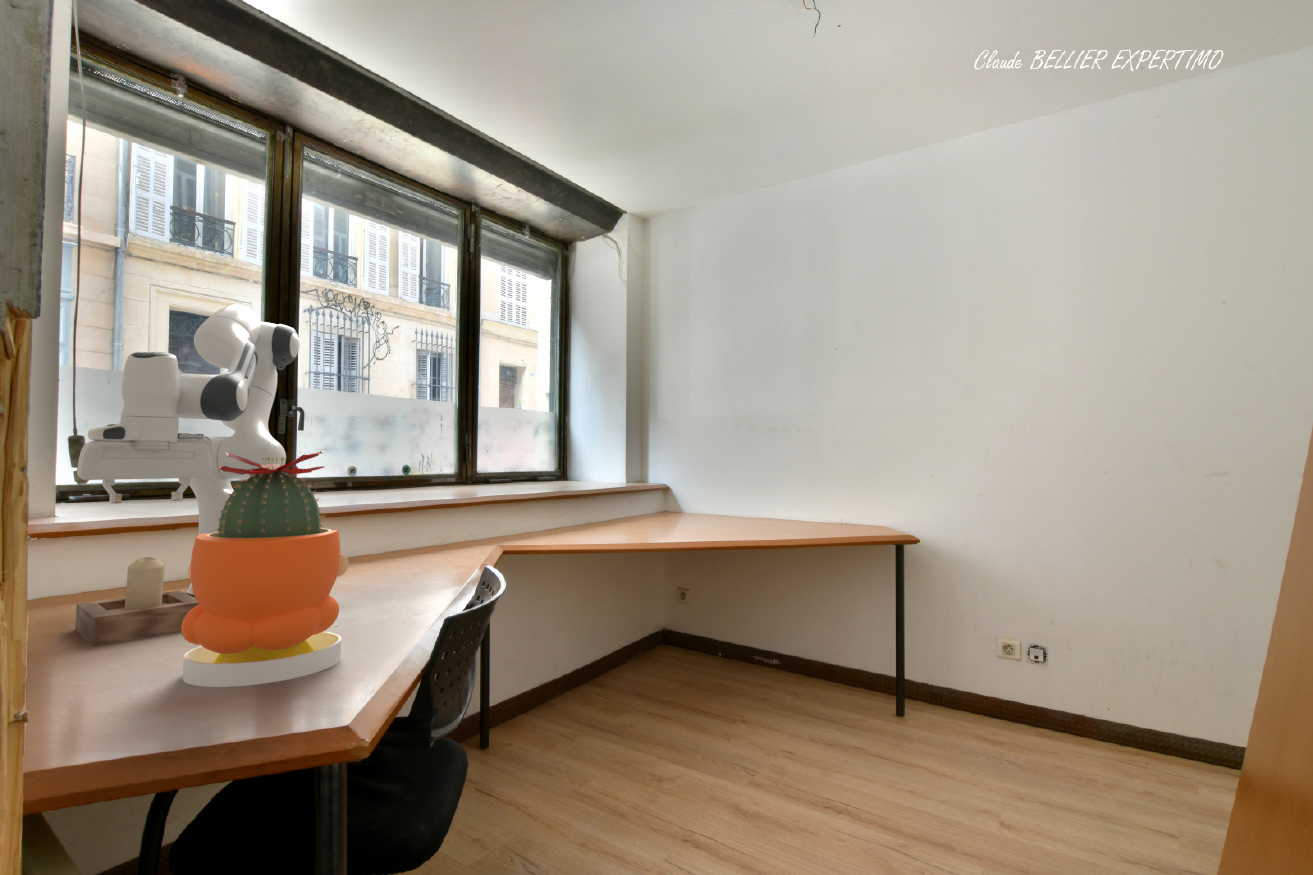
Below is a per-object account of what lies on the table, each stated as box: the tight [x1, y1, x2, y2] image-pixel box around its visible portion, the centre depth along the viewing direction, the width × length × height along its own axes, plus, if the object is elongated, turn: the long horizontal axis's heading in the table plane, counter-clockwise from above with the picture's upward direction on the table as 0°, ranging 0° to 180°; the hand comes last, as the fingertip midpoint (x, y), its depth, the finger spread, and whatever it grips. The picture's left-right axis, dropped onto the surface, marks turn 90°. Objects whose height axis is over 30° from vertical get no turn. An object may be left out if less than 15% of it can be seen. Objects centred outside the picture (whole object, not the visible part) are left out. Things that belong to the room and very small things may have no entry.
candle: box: [124, 556, 166, 610], centre depth 117 cm, size 6×6×10 cm
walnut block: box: [74, 590, 199, 647], centre depth 117 cm, size 16×16×6 cm
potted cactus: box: [180, 451, 349, 688], centre depth 95 cm, size 22×22×35 cm
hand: (147, 502), depth 118 cm, fingers open, 8 cm apart
